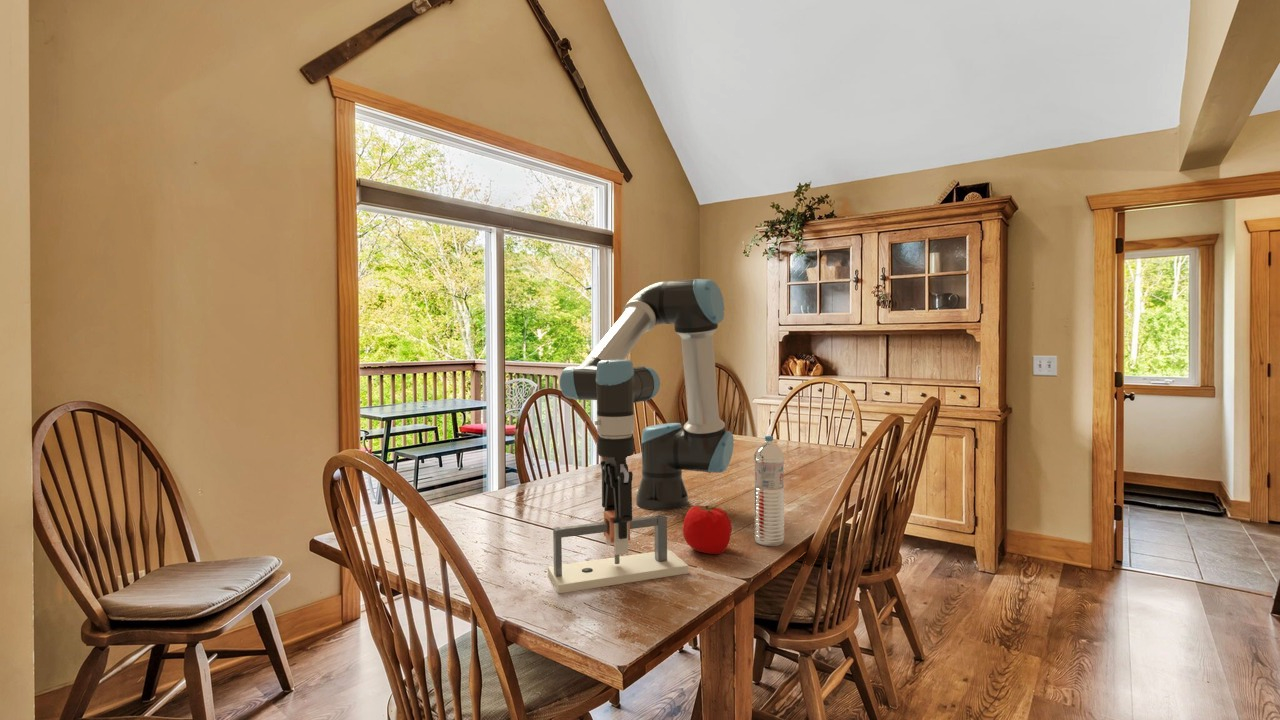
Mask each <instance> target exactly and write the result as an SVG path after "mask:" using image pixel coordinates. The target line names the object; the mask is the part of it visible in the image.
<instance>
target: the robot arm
mask: <svg viewBox="0 0 1280 720" xmlns="http://www.w3.org/2000/svg"><path fill="white" fill-rule="evenodd" d="M724 311H725V301H724V297H723V294H722V291H721V288H720V286H719V285H718V284H717V283H716V281H714V280H712V279H709V278H708V279H707V278H692V279H680V280H662V281H659V282H654V283H653V284H650V285H648V286H646V287H644V288H642V289H641V290H640V291H639V292H637V293H636V294H635V295H633V296H632V297H631V298H630V299H629V300H628V301H627V302H626V303H625V305H624V306H623V307H622V312H621V315H620V317H619V318H618V319H617V320H616V322H615V323H614V324H613V325H612V327H610V329H609V330H608V331H607V333H606V334H605V335H604V336H603V338H602V339H601V340H600V341H599V342H598V344H596V345H595V347H594V348H593V349H592V351H591V352H590V353H589V354H588V355H587V357H586V358H585V359H584V361H582V363H581V364H580V365H578V366H577V365H573V366H567V367H565V368H564V369H563V370H562V372H561V373H560V375H559V376H560V377H559V388H560V391H561V394H562V395H563V396H564V397H565V398H567V399H569V400H579V401H596V419H597V420H594V425H595V426H596V429H597V430H596V434H597V435H599V436H598V437H597V438H596V450H597V451H596V452H597V455H598V456H600V457H602V458H605V460H601V461H600V468H601V507H602V508H603V509H604V510H603V511H610V510H615V516H616V520H612V522H613V523H614V542H613V543H611V542H610V541H609V540H608V539H607V538H606V537H605V545H606V546H607V547H609V546H613V549H614V552H613V553H614V556H615V555H625V554H629V540H628V522H629V521H632V519H633V489H632V488H633V487H632V485H633V484H632V483H633V472H632V471H629V465H628V464H627V458H628V457H630V456H633V454H634V453H635V438H634V436H633V435H634V434H635V413H634V411H635V409H634V403H639V402H647V401H648V400H651V399H653V398H654V397H655V396H657V394H659V393H658V392H660V391H659V390H660V387H661V379H660V376H659V375H658V372H657V371H656V370H655V369H653V368H651V367H649V366H639V365H638V366H636V367H635V366H634V363H633V361H631V359H626V358H627V357H628V356H629V354H631V352H632V350H633V349H634V348H635V347H636V345H637V344H638V343H639V341H640V340H641V338H643V336H644V334H645V333H647V332H650V331H651V330H653V329H654V327H655V326H658V325H674V333H675V334H677V335H678V336H679V337H680V340H681V353H682V361H683V363H682V364H683V375H684V386H685V396H686V408H687V409H686V411H687V418H688V420H687V421H686V422H685V424H684V425H682V423H680V422H670V423H669V422H667V423H659V424H654V425H649V426H646V427H645V428H644V429H643V430H642V432H641V441H640V444H641V480H640V482H639V486H638V490H637V492H636V496H635V497H636V499H635V501H636V505H637V506H639V507H640V508H642V509H643V508H644V509H648V510H655V511H659V510H661V511H663V510H664V511H666V510H668V511H669V510H676V509H681V508H684V507H686V506H687V505H688V504H689V496H688V491H687V489H686V486H685V483H684V480H683V476H682V474H683V472H682V471H683V470H684V471H691V472H692V471H694V472H703V473H708V474H711V473H719V474H721V473H723V472H725V471H726V470H727V469H728V467H729V465H730V463H731V460H732V457H733V452H734V442H735V441H734V440H735V439H734V435H733V433H732V431H729V430H726V423H725V422H724V421H723V420H722V419H721V418H720V415H719V414H720V413H719V401H718V398H719V397H718V387H717V374H716V371H717V370H716V361H715V347H714V334H715V333H716V332H717V330H718V329H719V325H718V324H719V323H722V321H723V320H724V318H725V312H724Z"/></svg>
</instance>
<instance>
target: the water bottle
mask: <svg viewBox="0 0 1280 720" xmlns="http://www.w3.org/2000/svg"><path fill="white" fill-rule="evenodd" d="M764 441H765V442H764V443H763V444H761V445H760V446H759V447H758V448H757V449H756V451H755V453H754V455H753V456H754V457H753V459H754V501H753V502H754V541H755V543H757V544H758V545H761V546H763V547H778V546H781V545H783V544H784V540H785V488H784V486H785V485H784V481H785V480H784V479H785V478H784V474H785V473H784V472H785V471H784V468H785V467H784V464H785V463H784V462H785V454H784V452H783V451H782V450H781V448H780V447H779V446H778V445H777V444H775V443H774V436H772V435H765V437H764Z"/></svg>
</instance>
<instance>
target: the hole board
mask: <svg viewBox="0 0 1280 720" xmlns="http://www.w3.org/2000/svg"><path fill="white" fill-rule="evenodd" d="M686 574H689V564H687V563H686V562H684V560H682V559H681V558H680V557H678V555H676V554H675V553H674V552H673V551H671V550H670V549H667V561H661V562H658V561H657V560H656V559H655V551H649V552H644V553H643V552H642V553H635V554H629V555H622V556H621V555H620V563H619V564H615V556H613V557H608V558H607V557H606V558H600V559H594V560H593V559H592V560H586V561H579V562H578V561H577V562H572V563H562V576H560V577H556V576H555V575H554V565H549V566H547V575H548V577H549V579H550V581H551V583H552V584H553V587H554V588H555V590H556V592H557V593H558V594H562V593H569V592H577V591H582V590H590V589H595V588H602V587H608V586H609V587H610V586H614V585H621V584H627V583H634V582H642V581H647V580H653V579H660V578H665V577H672V576H678V575H679V576H680V575H686Z"/></svg>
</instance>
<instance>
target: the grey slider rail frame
mask: <svg viewBox="0 0 1280 720" xmlns="http://www.w3.org/2000/svg"><path fill="white" fill-rule="evenodd" d="M649 527H654V552H655V559H656V560H657V561H658V562H661V561H667V550H668V517H667V516H665V515H664V514H659V515H658V514H657V515H656V514H655V515H651V516H643V517H634V518H633V517H632V521H630V530H632V529H633V530H634V529H641V528H643V529H644V528H649ZM552 529H553V530H552V537H553V540H552V541H553V542H552V543H553V548H552V549H553V566H554V575H555V576H556V577H560V576H562V565H563V559H562V558H563V553H562V551H563V550H562V547H563V546H562V538H569V537H576V536H577V537H578V536H585V535H586V536H587V535H594V534H601V533H603V534H604V532H610V525H609V521H608V522H604V521H602V522H601V521H600V522H591V523H584V524H575V525H566V526H565V525H564V526H555V527H552Z"/></svg>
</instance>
